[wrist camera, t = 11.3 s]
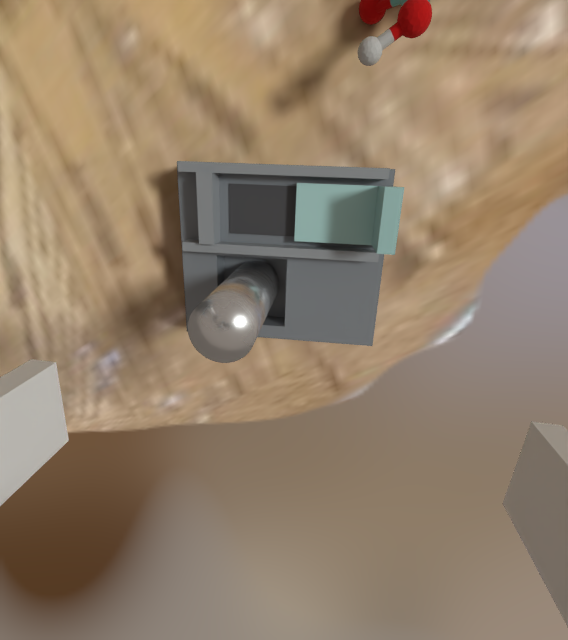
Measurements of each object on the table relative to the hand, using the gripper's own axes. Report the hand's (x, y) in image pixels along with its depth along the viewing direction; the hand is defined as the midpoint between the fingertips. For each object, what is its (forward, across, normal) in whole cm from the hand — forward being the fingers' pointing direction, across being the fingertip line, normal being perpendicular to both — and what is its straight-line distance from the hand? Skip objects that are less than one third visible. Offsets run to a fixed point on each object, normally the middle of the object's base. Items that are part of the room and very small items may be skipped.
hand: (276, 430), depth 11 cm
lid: (+17, +2, +5) cm, 17 cm away
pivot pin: (+19, -4, -1) cm, 19 cm away
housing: (+19, -2, +2) cm, 20 cm away
